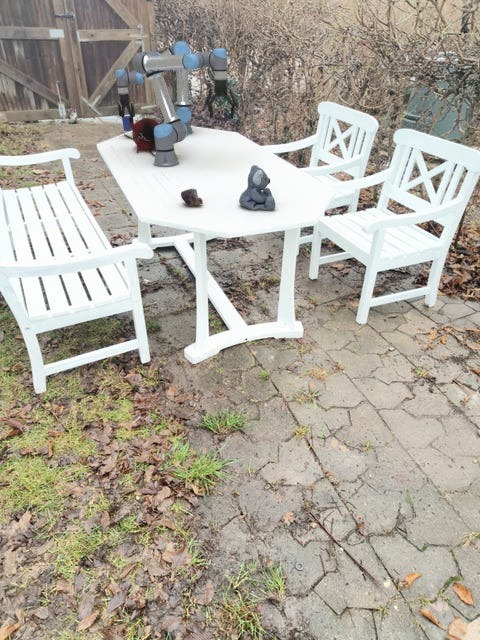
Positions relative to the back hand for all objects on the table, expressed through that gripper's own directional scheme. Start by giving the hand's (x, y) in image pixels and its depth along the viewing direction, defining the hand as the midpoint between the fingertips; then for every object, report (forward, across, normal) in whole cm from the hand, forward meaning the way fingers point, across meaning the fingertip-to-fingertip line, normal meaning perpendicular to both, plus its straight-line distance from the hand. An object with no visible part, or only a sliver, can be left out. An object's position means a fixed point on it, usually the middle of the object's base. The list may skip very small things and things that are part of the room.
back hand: (128, 126), depth 348 cm
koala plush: (+10, -138, +112) cm, 177 cm away
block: (+2, 0, 0) cm, 2 cm away
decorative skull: (+9, -30, +23) cm, 39 cm away
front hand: (-18, -95, +46) cm, 107 cm away
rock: (+10, -105, +120) cm, 160 cm away
